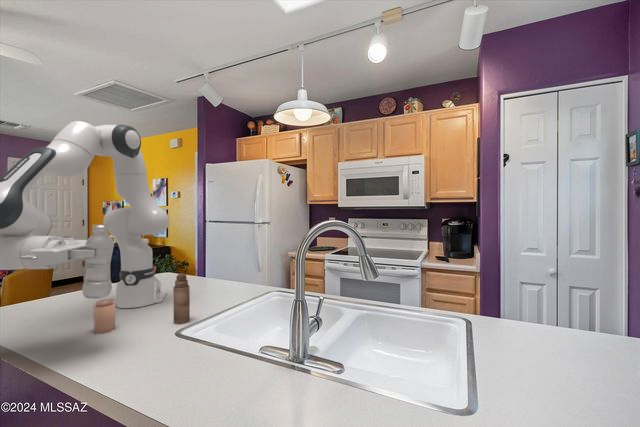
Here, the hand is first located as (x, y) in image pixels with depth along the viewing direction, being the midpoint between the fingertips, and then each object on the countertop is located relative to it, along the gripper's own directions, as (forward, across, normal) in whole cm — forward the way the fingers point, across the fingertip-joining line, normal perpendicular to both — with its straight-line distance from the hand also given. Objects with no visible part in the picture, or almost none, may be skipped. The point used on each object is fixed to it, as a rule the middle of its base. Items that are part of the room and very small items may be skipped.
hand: (103, 251), depth 82 cm
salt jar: (-7, +14, +27) cm, 31 cm away
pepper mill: (+15, +18, +27) cm, 36 cm away
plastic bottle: (-2, 0, +13) cm, 13 cm away
